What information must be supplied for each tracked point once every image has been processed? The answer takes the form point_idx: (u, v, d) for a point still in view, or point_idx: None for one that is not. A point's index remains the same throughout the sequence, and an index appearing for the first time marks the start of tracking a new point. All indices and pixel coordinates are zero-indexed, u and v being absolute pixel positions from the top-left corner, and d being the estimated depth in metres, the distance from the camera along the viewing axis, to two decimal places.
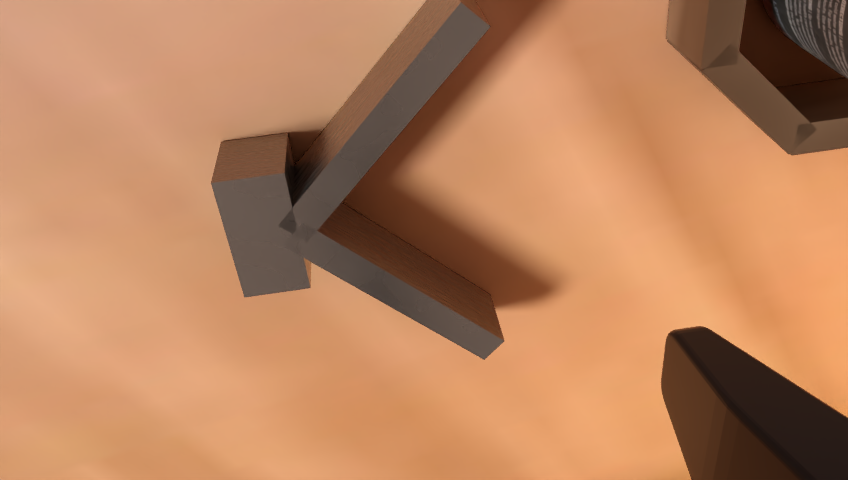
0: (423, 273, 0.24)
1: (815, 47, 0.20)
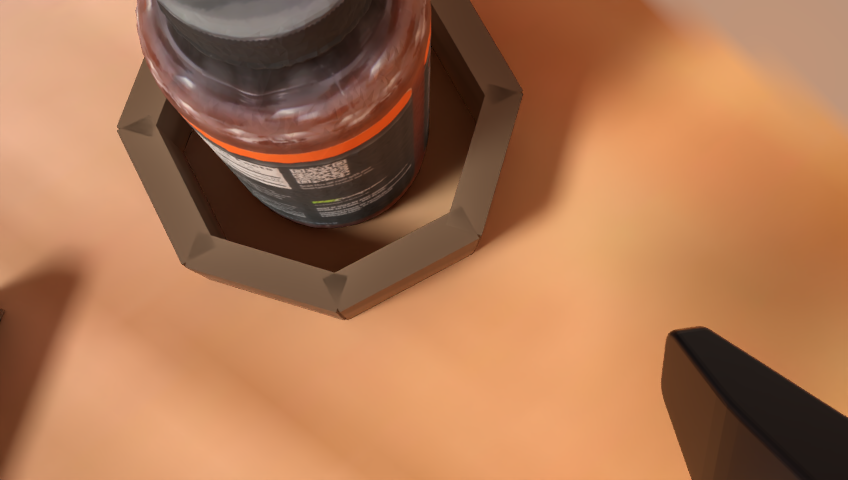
0: None
1: (265, 197, 0.20)
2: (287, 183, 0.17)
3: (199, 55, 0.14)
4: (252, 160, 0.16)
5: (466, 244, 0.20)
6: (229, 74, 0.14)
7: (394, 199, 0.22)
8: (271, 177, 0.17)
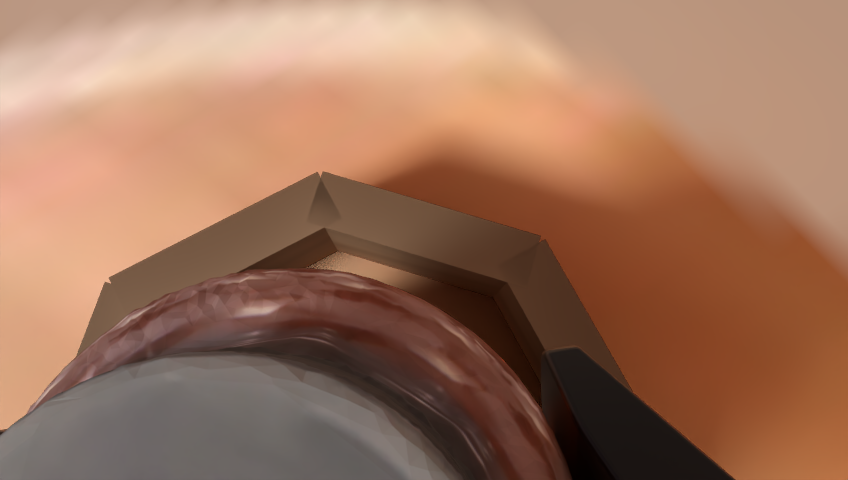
0: None
1: None
2: None
3: None
4: None
5: None
6: None
7: None
8: None
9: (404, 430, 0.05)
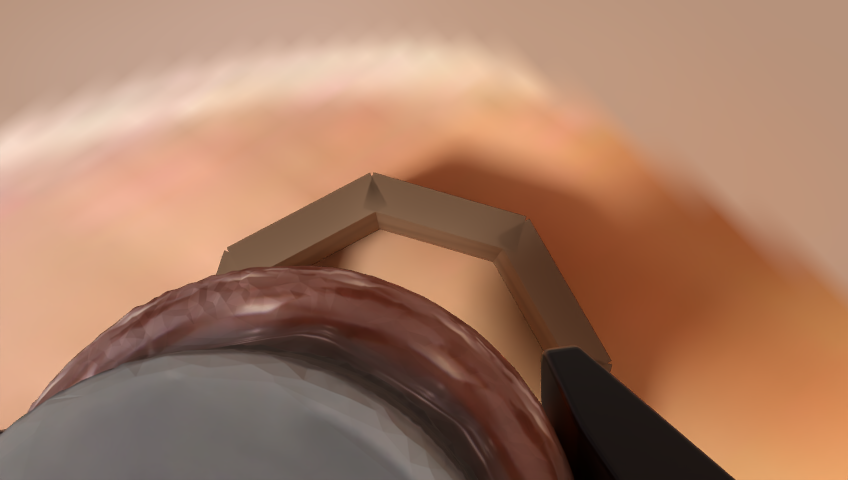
0: None
1: None
2: None
3: None
4: None
5: None
6: None
7: None
8: None
9: (406, 428, 0.05)
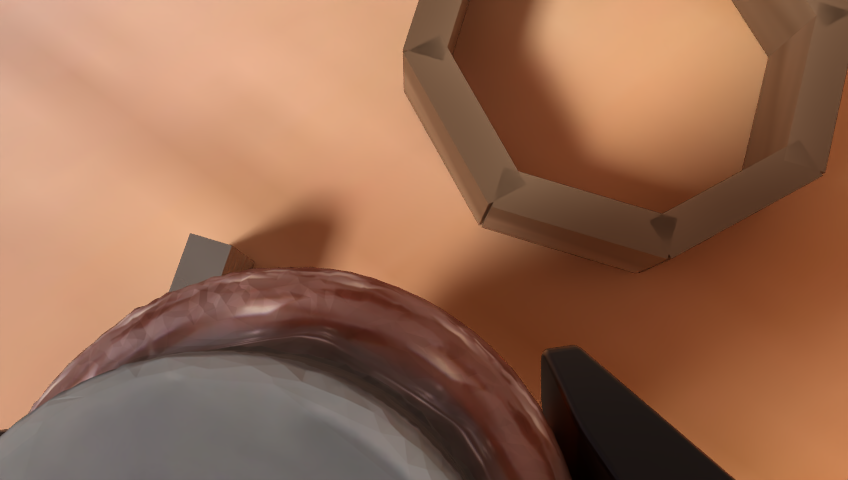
0: None
1: None
2: None
3: None
4: None
5: (808, 182, 0.18)
6: None
7: None
8: None
9: (403, 428, 0.05)
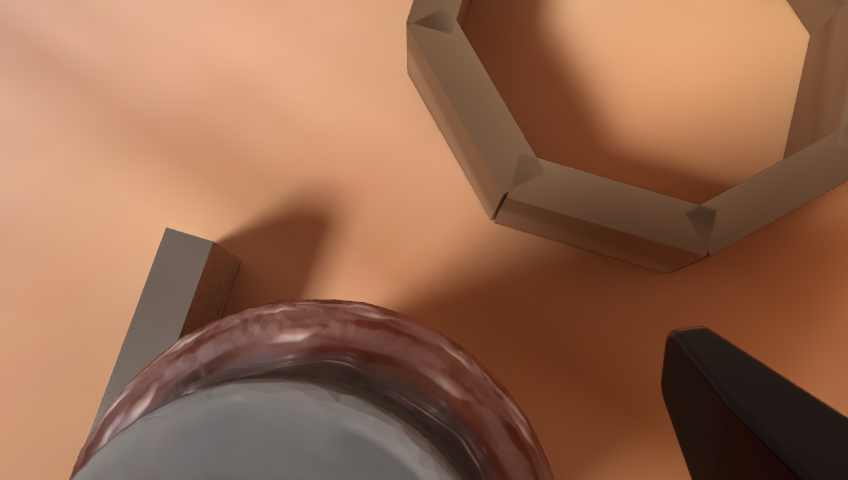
0: None
1: None
2: None
3: None
4: None
5: None
6: None
7: None
8: None
9: (417, 440, 0.06)
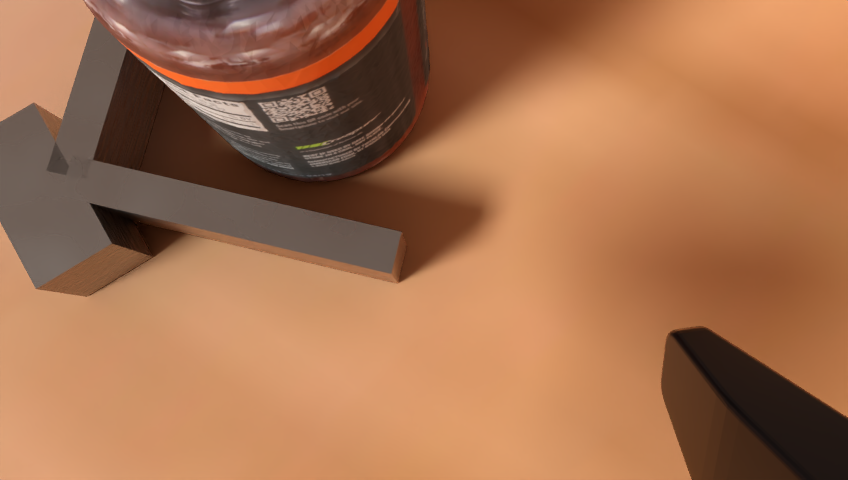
0: None
1: (243, 147, 0.17)
2: (261, 123, 0.14)
3: None
4: (212, 94, 0.13)
5: None
6: None
7: (395, 143, 0.19)
8: (240, 116, 0.14)
9: None
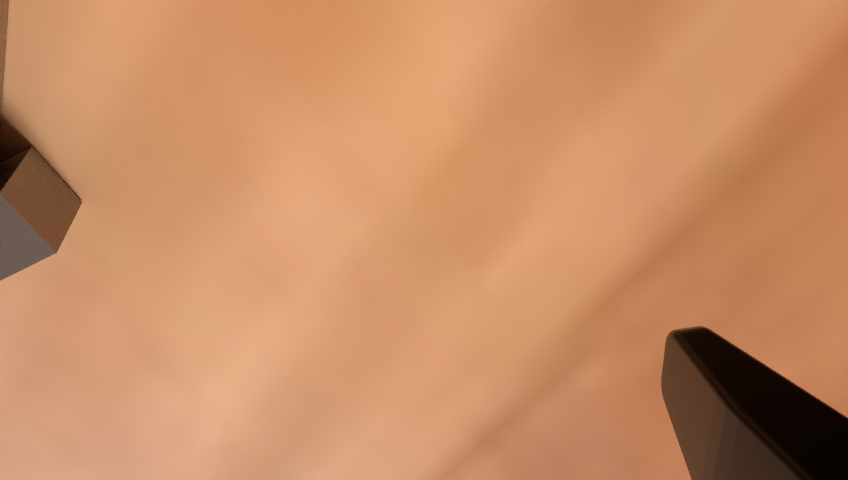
0: None
1: None
2: None
3: None
4: None
5: None
6: None
7: None
8: None
9: None
